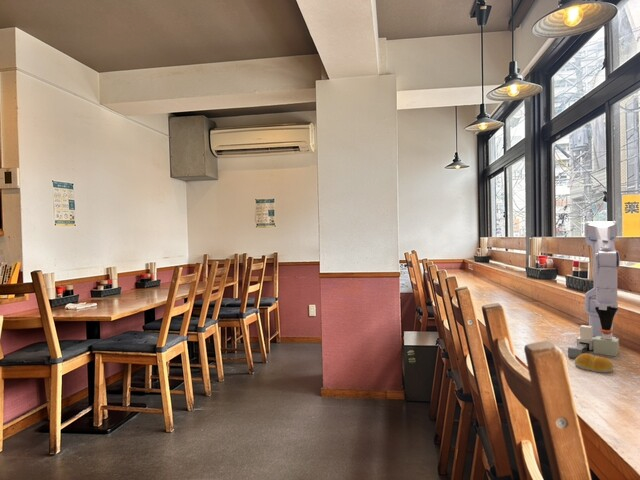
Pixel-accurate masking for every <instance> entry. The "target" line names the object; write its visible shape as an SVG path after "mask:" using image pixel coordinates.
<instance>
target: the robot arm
mask: <svg viewBox="0 0 640 480" xmlns="http://www.w3.org/2000/svg"><path fill="white" fill-rule="evenodd" d="M617 236H618V222H617V221H616V220H613V221H588V220H587V221H585V222H584V238H585V239H584V242H585V244H586V245H587V246H590V248H591V250H592V261H593V262H592V264H593V265H592V266H593V268H592V269H593V270H592V271H593V275H592V276H593V287H592V288H591V289H590V290H588V291H586V292H585V294H584V295H585V296H584V312H585V313H586V314H588V326H592V336H595V337H596V336H602V332H600V328H602V329H604V330H610V329H612V330H613V328H614V327H613V323H614V322H613V321H614V317H615V316H617V315H618V313H619V312H618V311H619V308H618V307H619V306H618V305H619V302H618V270H620V263H621V258H620V252H619V251H618V250H616V247H615V246H616V245H615V243H616V241H617ZM613 331H614V330H613ZM613 333H614V332H613ZM613 333H611V338H616V339H617V337H615V336H613Z"/></svg>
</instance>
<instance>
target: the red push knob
mask: <svg viewBox="0 0 640 480" xmlns="http://www.w3.org/2000/svg"><path fill="white" fill-rule="evenodd" d="M600 332H602V339H604V340H611V333H614V330H612V329H610V330H604V329H602V328H600Z"/></svg>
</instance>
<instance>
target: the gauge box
mask: <svg viewBox="0 0 640 480" xmlns="http://www.w3.org/2000/svg"><path fill="white" fill-rule="evenodd" d="M593 353H594V354H599V355H605V356H612V357H617V356H618V354H619V353H620V338H617V337H616V338H611V340H604V339H602V336H596V337H595V338H594V349H593Z"/></svg>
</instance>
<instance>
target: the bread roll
mask: <svg viewBox="0 0 640 480" xmlns="http://www.w3.org/2000/svg"><path fill="white" fill-rule="evenodd" d="M574 365H575V366H576V367H578V368H579V369H582V370H585V371H586V370H587V371H591V372H596V373H603V374H604V373H612V372H613V371H614V367H615V366H614V364H613V362H612V361H611V360H610V359H609V358H606V357H604V356H595V355H593V354H591V353H587V352H585V353H584V354H581V355H579V356H578V357H577V358H576V359H575V358H574Z"/></svg>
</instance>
